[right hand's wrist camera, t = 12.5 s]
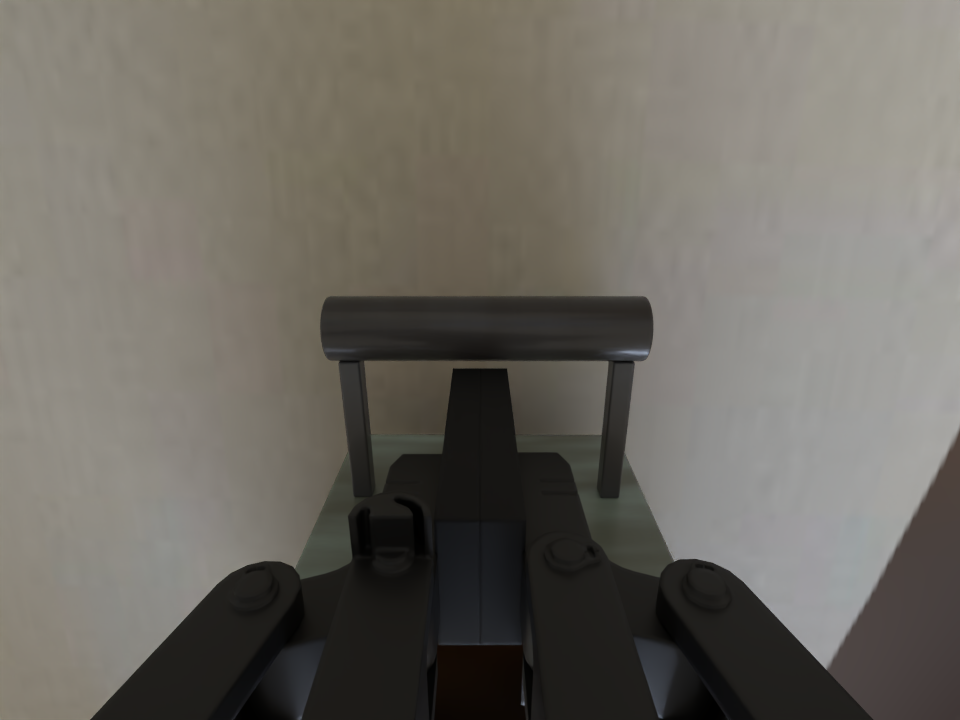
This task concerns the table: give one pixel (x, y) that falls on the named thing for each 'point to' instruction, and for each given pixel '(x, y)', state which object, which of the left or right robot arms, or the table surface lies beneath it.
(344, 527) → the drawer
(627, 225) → the table surface
